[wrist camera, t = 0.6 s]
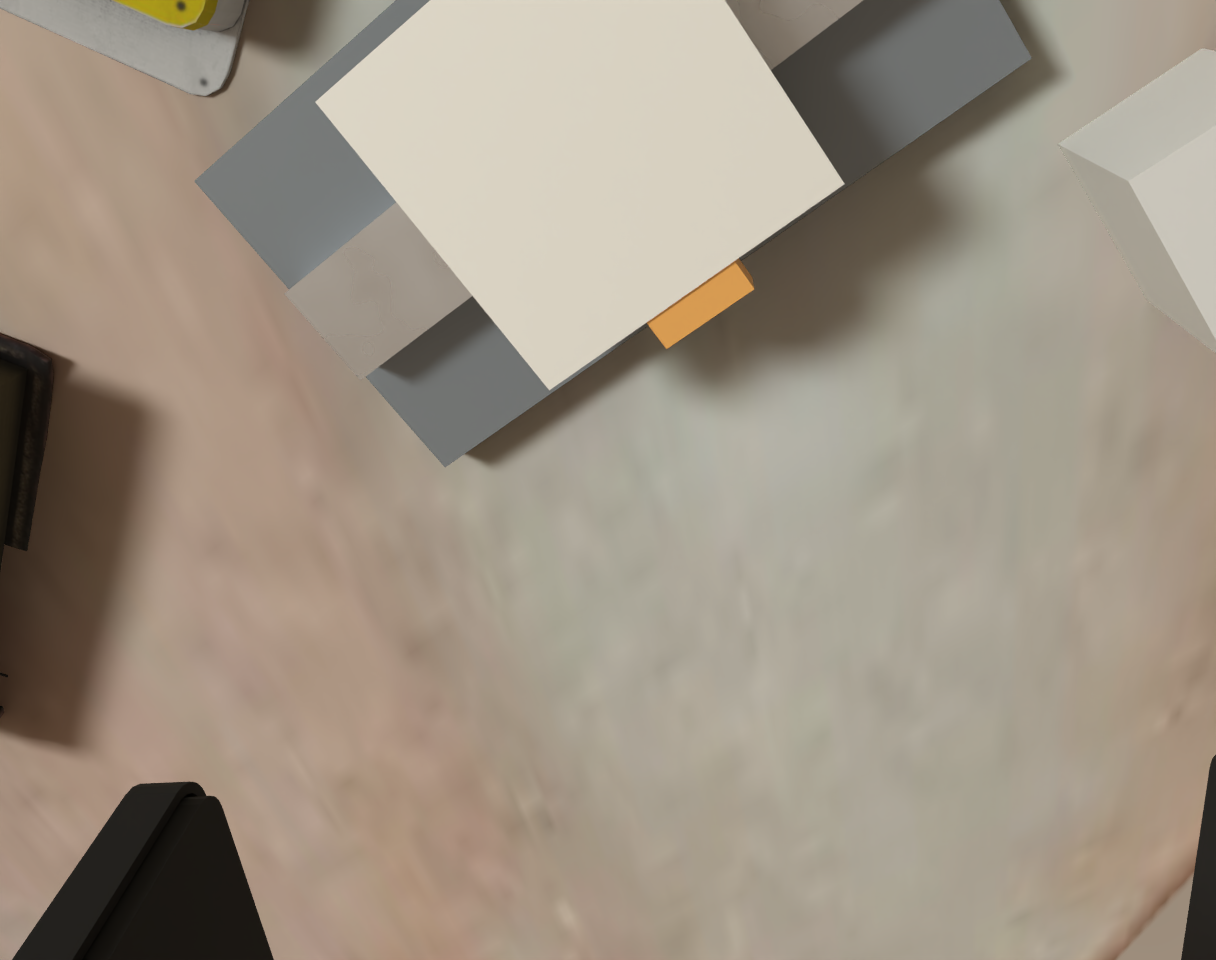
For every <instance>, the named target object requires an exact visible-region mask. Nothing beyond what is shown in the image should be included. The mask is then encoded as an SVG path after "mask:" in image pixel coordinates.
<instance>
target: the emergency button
mask: <svg viewBox="0 0 1216 960" xmlns="http://www.w3.org/2000/svg"><path fill="white" fill-rule="evenodd" d="M248 3H249V0H0V9H3V10H5V11H7V12H9V13H12V14H14V15H16V16H18V17H20V18H23V19H25V20H27V21H29V22H32V23H34V24H36V25H38V26H40V27H43V28H45V29H47V30H49V31H51V32H54V33H56V34H58V35H60V36H63V37H65V38H67V39H69V40H71V41H74V42H76V43H78V44H80V45H83V46H85V47H87V48H89V49H91V50H94V51H96V52H98V53H100V54H102V55H105V56H107V57H109V58H111V59H114V60H116V61H118V62H120V63H122V64H125V65H127V66H129V67H131V68H134V69H136V70H138V71H140V72H142V73H145V74H147V75H149V76H151V77H153V78H156V79H158V80H160V81H162V82H165V83H167V84H169V85H171V86H173V87H176V88H178V89H180V90H182V91H185V92H187V93H189V94H194V95H202V96H208V95H210V94H212V93H214V92H216V91H217V90H219V89H221V88H222V87H223V85H224V83H225V82H226V80H227V78H228V76H229V74H230V72H231V68H232V64H233V61H234V57H235V53H236V49H237V45H238V41H239V37H240V34H241V30H242V26H243V22H244V18H245V14H246V11H247V7H248Z"/></svg>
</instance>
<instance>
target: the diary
mask: <svg viewBox="0 0 1216 960" xmlns="http://www.w3.org/2000/svg"><path fill="white" fill-rule="evenodd" d="M53 379H54V376H53V368H52V360H51V358H49V357H48V356H46V355H45V354H43V353H42V352H40V351H39V350H37V349H36V348H34V347H33V346H30V345H28V344H25V343H23V342H20V341H18V340H15V339H13V338H10V337H8V336H5V335H3V334H0V570H1V563H2V556H3V549H4V544H5V545H8V546H11V547H15V548H18V549H21V550H24V551H27V548H28V542H29V536H30V530H31V524H32V518H33V512H34V506H35V500H36V494H37V488H38V482H39V476H40V470H41V465H42V460H43V455H44V450H45V445H46V440H47V433H48V424H49V415H50V406H51V397H52V388H53ZM0 675H2V676H5V677H8V675H6V674H3V673H0ZM3 713H4V710H3V706H0V717H1V716H2V714H3Z"/></svg>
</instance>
